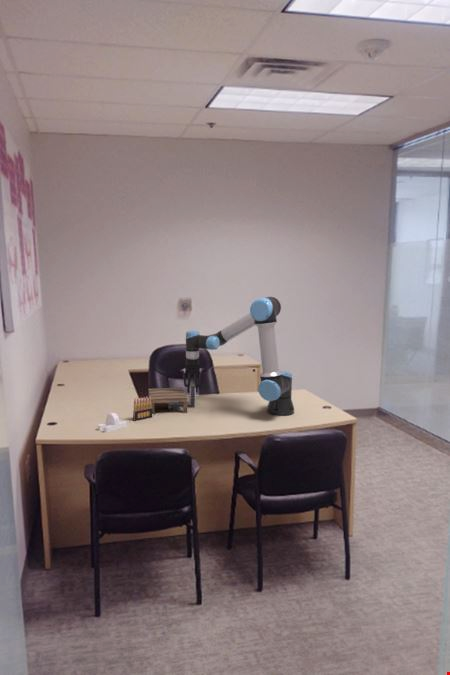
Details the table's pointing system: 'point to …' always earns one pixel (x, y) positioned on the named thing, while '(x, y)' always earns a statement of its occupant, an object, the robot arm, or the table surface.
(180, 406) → the puck
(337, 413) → the table surface
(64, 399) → the table surface
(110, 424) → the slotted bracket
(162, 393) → the bench
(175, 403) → the hook tool
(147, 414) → the ammunition clip
